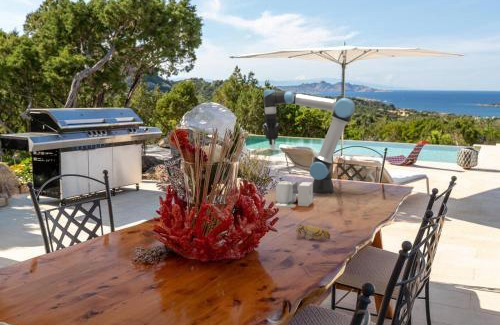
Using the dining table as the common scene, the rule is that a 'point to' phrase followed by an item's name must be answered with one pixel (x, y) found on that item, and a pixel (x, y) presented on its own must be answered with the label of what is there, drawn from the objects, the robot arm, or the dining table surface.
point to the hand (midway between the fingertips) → (272, 149)
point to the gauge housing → (302, 195)
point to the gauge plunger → (292, 192)
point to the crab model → (312, 232)
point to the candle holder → (282, 192)
